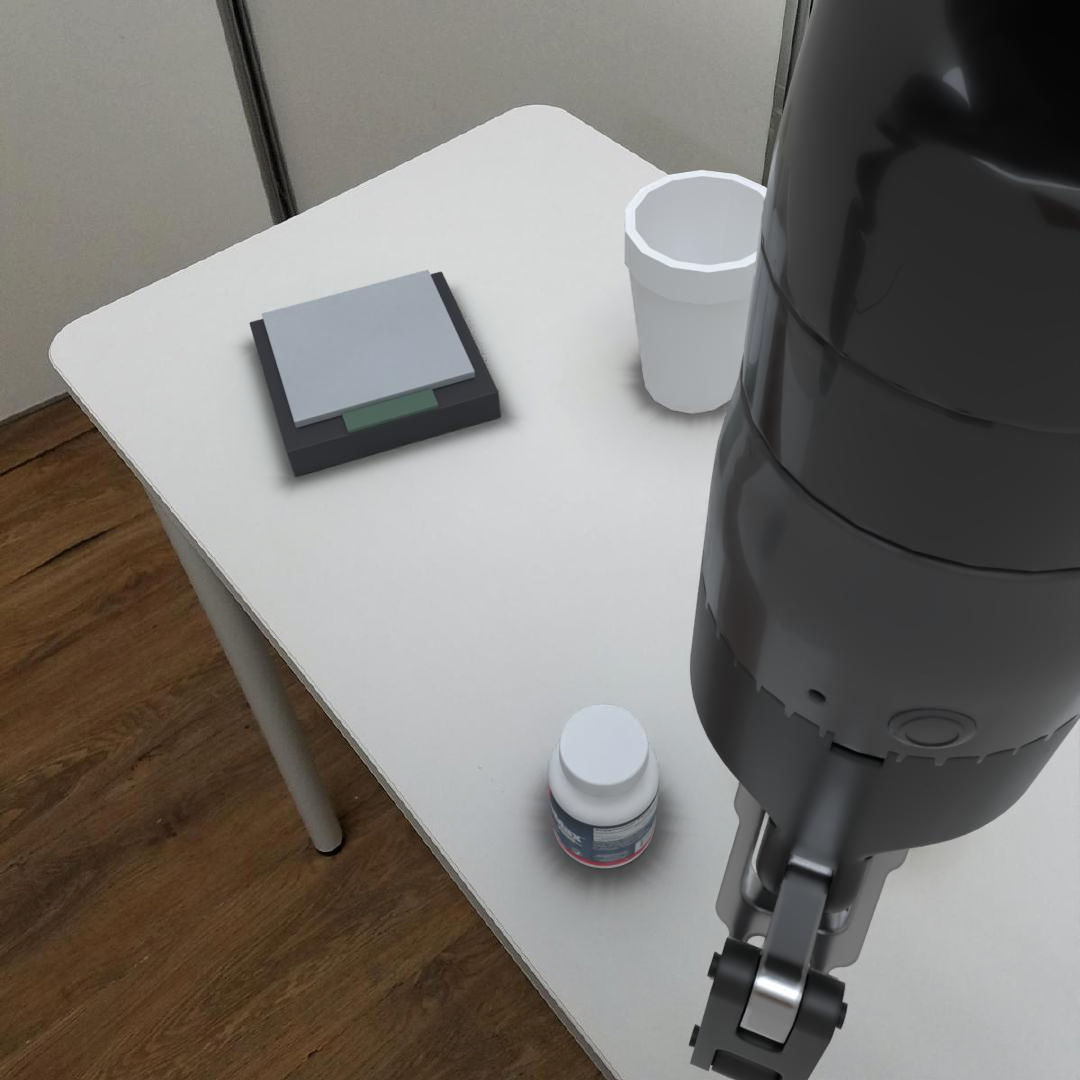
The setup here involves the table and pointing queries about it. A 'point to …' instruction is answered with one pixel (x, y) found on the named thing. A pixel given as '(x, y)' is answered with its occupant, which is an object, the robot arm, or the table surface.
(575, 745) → the pill bottle
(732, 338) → the foam cup
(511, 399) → the table surface
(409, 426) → the scale
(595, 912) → the table surface
